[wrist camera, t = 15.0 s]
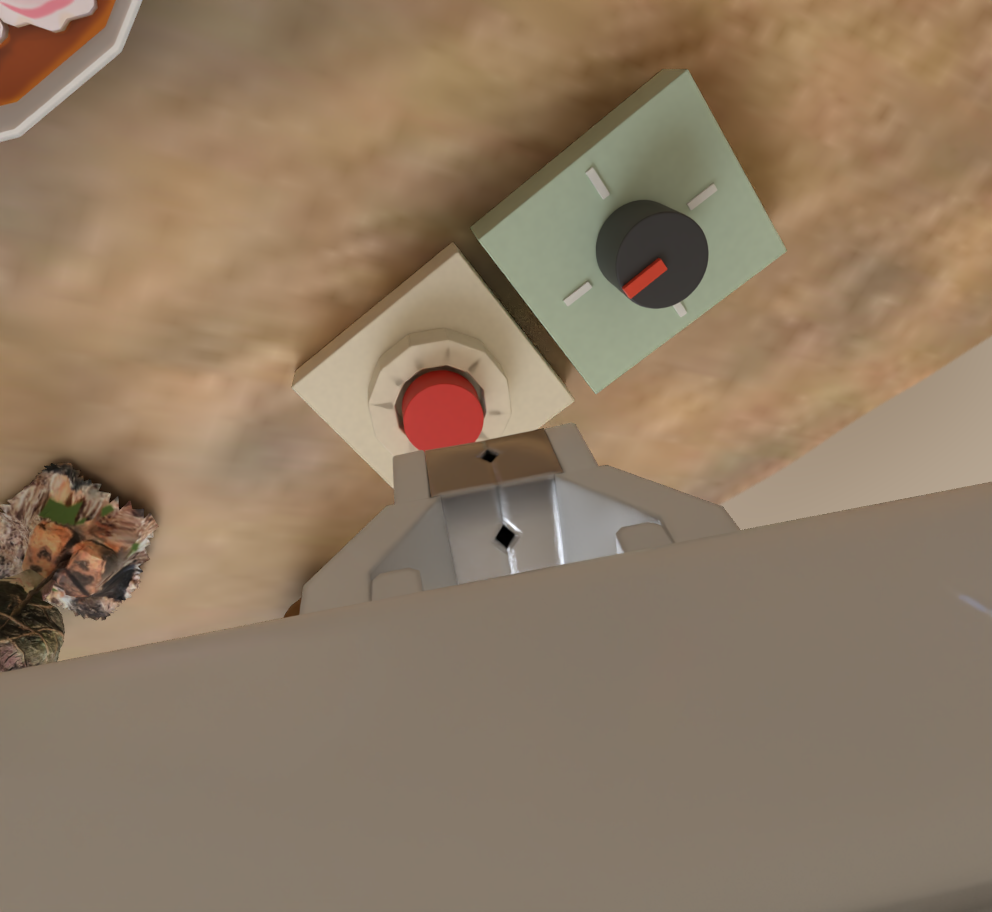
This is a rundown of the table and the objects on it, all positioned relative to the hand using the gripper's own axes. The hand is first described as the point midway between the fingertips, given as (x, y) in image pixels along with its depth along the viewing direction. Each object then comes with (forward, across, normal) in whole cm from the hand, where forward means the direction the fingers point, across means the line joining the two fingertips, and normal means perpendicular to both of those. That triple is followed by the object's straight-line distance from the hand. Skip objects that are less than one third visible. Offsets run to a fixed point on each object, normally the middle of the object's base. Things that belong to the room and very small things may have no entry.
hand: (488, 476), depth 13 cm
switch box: (+26, +1, +9) cm, 27 cm away
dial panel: (+26, -10, +3) cm, 28 cm away
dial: (+23, -10, +3) cm, 25 cm away
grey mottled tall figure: (+25, +21, +15) cm, 36 cm away
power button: (+22, +1, +9) cm, 24 cm away
